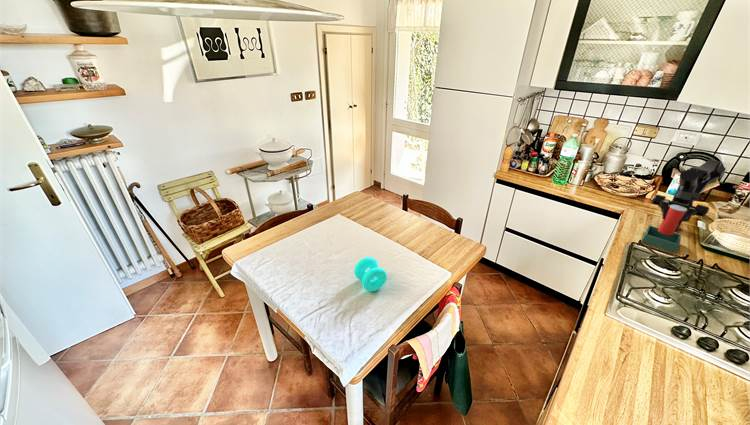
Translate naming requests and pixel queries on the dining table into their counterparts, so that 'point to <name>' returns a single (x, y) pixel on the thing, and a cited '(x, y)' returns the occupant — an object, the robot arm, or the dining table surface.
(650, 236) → the bin
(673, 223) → the chip canister
